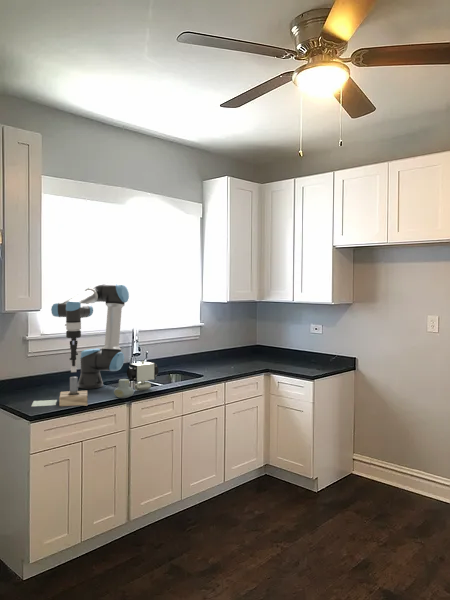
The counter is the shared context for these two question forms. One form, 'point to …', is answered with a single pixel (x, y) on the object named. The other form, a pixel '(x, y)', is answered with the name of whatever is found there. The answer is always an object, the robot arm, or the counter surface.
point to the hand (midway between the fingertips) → (74, 369)
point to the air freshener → (123, 389)
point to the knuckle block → (73, 399)
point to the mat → (44, 403)
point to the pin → (73, 385)
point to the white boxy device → (142, 374)
